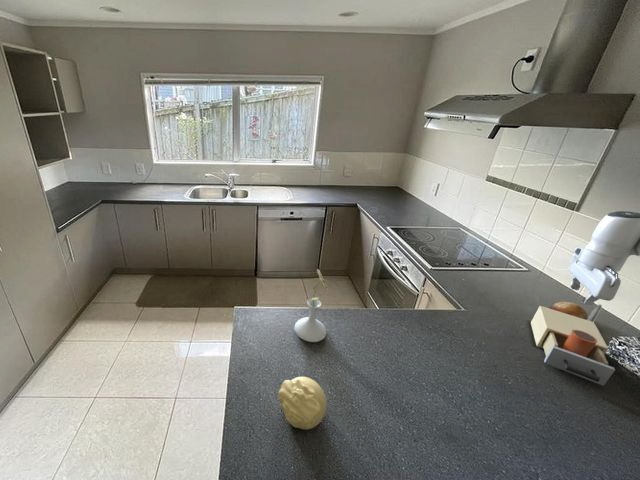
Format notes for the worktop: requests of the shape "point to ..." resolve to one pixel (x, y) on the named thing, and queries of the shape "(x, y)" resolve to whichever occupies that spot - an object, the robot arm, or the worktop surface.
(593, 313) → the screw
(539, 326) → the box
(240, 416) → the worktop surface
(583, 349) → the cup
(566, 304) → the bread roll
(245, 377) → the worktop surface
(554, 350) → the drawer
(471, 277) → the worktop surface
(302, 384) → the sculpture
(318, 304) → the flower in vase
